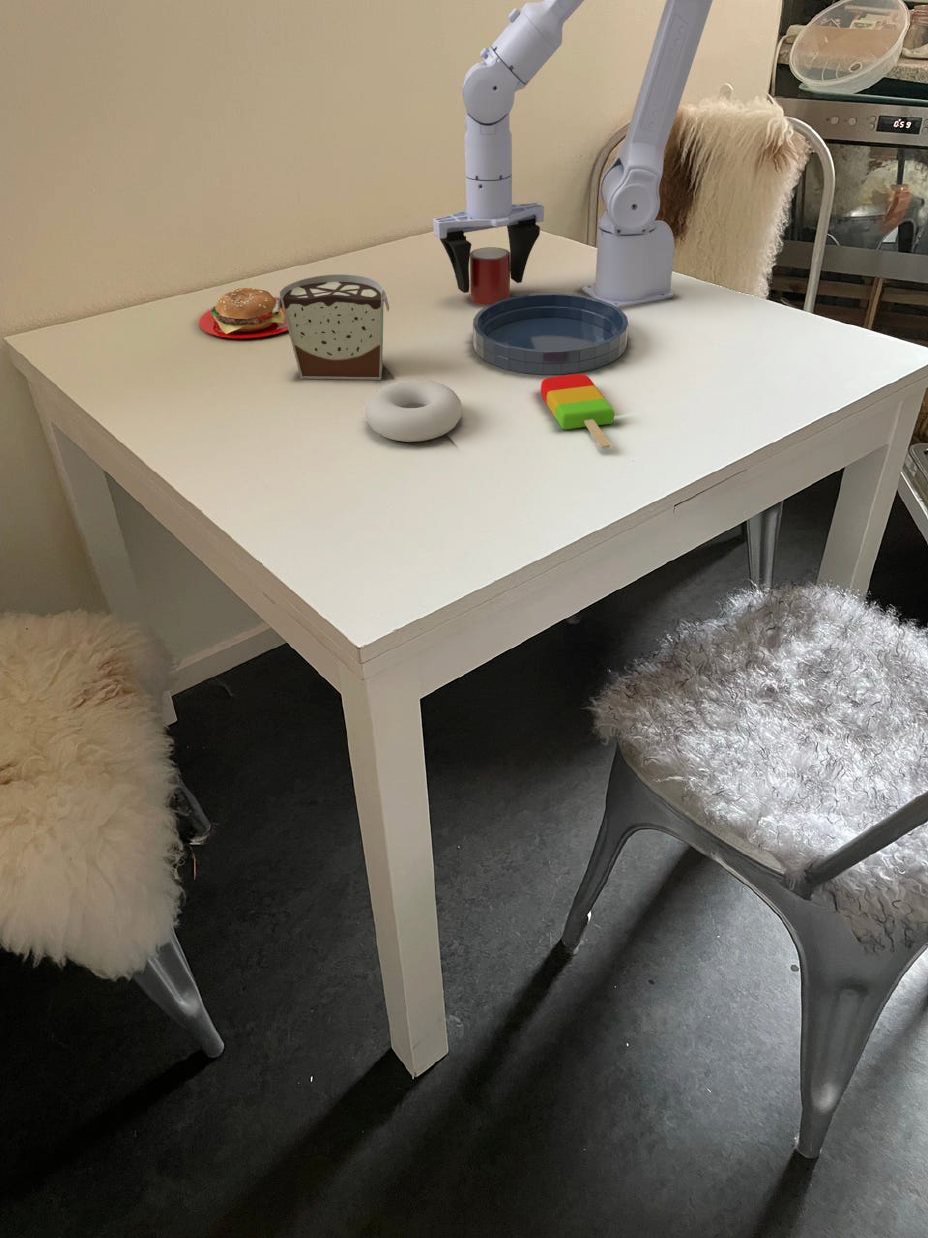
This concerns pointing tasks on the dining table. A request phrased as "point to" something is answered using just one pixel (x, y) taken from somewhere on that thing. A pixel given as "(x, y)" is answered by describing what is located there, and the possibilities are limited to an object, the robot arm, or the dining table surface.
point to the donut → (413, 410)
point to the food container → (336, 326)
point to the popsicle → (578, 404)
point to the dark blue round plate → (550, 333)
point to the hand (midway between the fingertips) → (490, 285)
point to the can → (489, 275)
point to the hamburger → (245, 315)
